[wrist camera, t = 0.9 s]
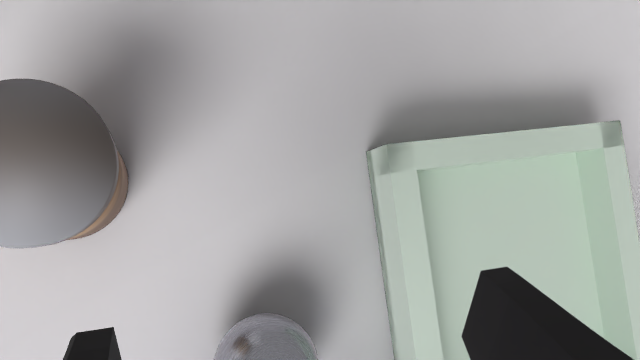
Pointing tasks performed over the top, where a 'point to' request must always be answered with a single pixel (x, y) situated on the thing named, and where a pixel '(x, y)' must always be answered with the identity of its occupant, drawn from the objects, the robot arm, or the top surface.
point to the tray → (506, 230)
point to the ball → (266, 340)
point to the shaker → (54, 166)
